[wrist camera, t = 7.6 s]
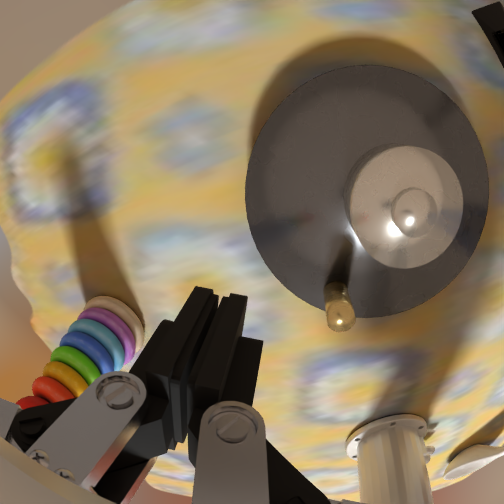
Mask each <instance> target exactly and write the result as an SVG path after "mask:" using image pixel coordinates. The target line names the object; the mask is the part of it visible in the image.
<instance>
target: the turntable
mask: <svg viewBox="0 0 504 504" xmlns="http://www.w3.org/2000/svg"><path fill="white" fill-rule="evenodd" d="M389 143H398V144H405V145H410V146H415V147H420V148H423V149H427V150H430V151H432V152H434V153H436V154H437V155H439V156H440V157H442V158H443V159H444V160H445V161H446V162H447V163H448V164H449V165H450V167H451V168H452V169H453V171H454V172H455V174H456V176H457V178H458V180H459V183H460V186H461V190H462V195H463V213H462V219H461V223H460V226H459V229H458V231H457V233H456V235H455V237H454V239H453V241H452V242H451V243H450V245H449V246H448V247H447V248H446V250H445V251H444V252H443V253H442V254H440V255H439V256H438V257H437V258H435V259H434V260H432V261H430V262H429V263H427V264H424V265H422V266H418V267H414V268H407V269H403V268H394V267H390V266H387V265H384V264H382V263H380V262H379V261H377V260H376V259H374V258H373V257H372V256H371V255H369V254H368V252H367V251H366V250H365V249H364V248H363V246H362V245H361V243H360V241H359V239H358V238H357V236H356V234H355V232H354V230H353V229H352V227H351V225H350V223H349V221H348V219H347V216H346V213H345V209H344V201H343V194H344V187H345V182H346V179H347V176H348V174H349V172H350V170H351V168H352V167H353V165H354V164H355V163H356V161H357V160H358V159H359V158H360V157H361V156H362V155H363V154H365V153H366V152H367V151H369V150H371V149H373V148H375V147H377V146H380V145H383V144H389ZM488 199H489V181H488V172H487V166H486V161H485V157H484V154H483V150H482V147H481V145H480V142H479V140H478V138H477V135H476V133H475V131H474V129H473V128H472V126H471V124H470V123H469V121H468V119H467V118H466V116H465V115H464V114H463V113H462V111H461V110H460V109H459V107H458V106H457V105H456V104H455V103H454V102H453V101H452V100H451V99H450V98H449V97H448V96H447V95H446V94H445V93H443V92H442V91H441V90H439V89H438V88H437V87H435V86H434V85H433V84H431V83H429V82H428V81H426V80H424V79H422V78H420V77H418V76H416V75H414V74H411V73H408V72H406V71H403V70H400V69H395V68H391V67H386V66H375V65H361V66H350V67H345V68H341V69H337V70H333V71H330V72H327V73H325V74H323V75H320V76H318V77H316V78H314V79H312V80H310V81H309V82H307V83H305V84H304V85H302V86H300V87H299V88H298V89H296V90H295V91H294V92H293V93H292V94H290V95H289V96H288V97H287V98H286V99H284V101H283V102H282V103H281V104H280V105H279V106H278V107H277V108H276V110H275V111H274V112H273V113H272V114H271V116H270V117H269V119H268V120H267V122H266V123H265V125H264V126H263V128H262V130H261V132H260V134H259V136H258V138H257V140H256V143H255V145H254V147H253V150H252V154H251V157H250V160H249V164H248V170H247V176H246V184H245V203H246V212H247V219H248V223H249V227H250V231H251V234H252V237H253V239H254V242H255V244H256V247H257V249H258V251H259V253H260V255H261V257H262V258H263V260H264V262H265V264H266V265H267V266H268V268H269V269H270V270H271V272H272V273H273V274H274V276H275V277H276V278H277V279H278V280H279V281H280V282H281V283H282V284H283V285H284V286H285V287H286V288H287V289H288V290H290V291H291V292H292V293H293V294H295V295H296V296H297V297H299V298H300V299H302V300H304V301H305V302H307V303H309V304H310V305H312V306H315V307H317V308H319V309H321V310H324V311H326V316H327V323H328V326H329V328H330V329H332V330H333V331H336V332H344V331H347V330H349V329H350V328H351V327H352V326H353V325H354V323H355V321H356V317H357V318H372V317H383V316H388V315H393V314H397V313H400V312H403V311H406V310H409V309H411V308H413V307H416V306H418V305H420V304H422V303H424V302H425V301H427V300H429V299H430V298H432V297H433V296H435V295H436V294H437V293H439V292H440V291H441V290H443V289H444V288H445V287H446V286H447V285H448V284H449V283H450V282H451V281H452V280H453V279H454V278H455V277H456V276H457V275H458V274H459V272H460V271H461V270H462V269H463V267H464V266H465V265H466V263H467V262H468V260H469V258H470V257H471V255H472V254H473V252H474V250H475V248H476V245H477V243H478V241H479V239H480V236H481V233H482V230H483V227H484V224H485V219H486V215H487V209H488Z"/></svg>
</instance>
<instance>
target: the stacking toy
mask: <svg viewBox="0 0 504 504" xmlns="http://www.w3.org/2000/svg"><path fill="white" fill-rule="evenodd" d="M143 342H144V330H143V327H142V324H141V322H140V320H139V318H138V317H137V315H136V314H135V313H134V312H133V311H132V310H131V309H130V308H129V307H128V306H127V305H126V304H124V303H123V302H121V301H120V300H118V299H115V298H113V297H109V296H97V297H94V298H92V299H91V300H90V301H88V303H87V304H86V305H85V308H84V311H83V312H82V313H81V314H80V315H79V317H78V319H77V321H75V322H74V323H73V324H71V326H70V327H69V329H68V333H67V334H66V335H64V336H63V338H62V339H61V341H60V347H58V348H56V349H55V350H54V351H53V353H52V355H51V362H49V363H47V364H46V366H45V367H44V370H43V377H39V378H37V379H36V380H35V381H34V382H33V385H32V390H33V394H34V396H27V397H25V398H22V399H20V400H19V401H18V402H17V403H16V404H18V405H20V407H21V409H26V408H29V407H34V406H39V405H44V404H49V403H54V402H58V401H63V400H68V399H72V398H76V397H79V396H80V395H81V394H82V393H83V392H84V391H85V390H86V389H87V388H88V387H89V385H90V384H91V383H92V382H93V381H94V380H95V379H97V378H98V377H99V376H101V375H103V374H105V373H108V372H113V371H119V370H120V369H121V368H122V367H123V365H125V364H127V363H128V362H130V361H131V360H132V358H133V357H134V354H135V353H136V352H138V351H139V350H140V348H141V347H142V345H143Z"/></svg>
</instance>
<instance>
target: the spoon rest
mask: <svg viewBox="0 0 504 504" xmlns="http://www.w3.org/2000/svg"><path fill="white" fill-rule="evenodd" d="M503 455H504V446H503V447H494V446H488V445H481V444H476V445H473V446H471V447H469V448H467V449H465V450H463V451H462V452H460V453H459V454H458V455H457V456H456V457H455V458H454V459H453V460H452V461H451V462H450V464H449V465H448V467H447V468H446V470H445V473H444V476H443V478H444V479H445V480H451V479H456V478H459V477H462V476H465V475H468V474H470V473H472V472H474V471H476V470H478V469H480V468H482V467H483V466H485V465H487V464H488V463H490V462H491V461H493V460H495V459H496V458H498V457H500V456H503Z"/></svg>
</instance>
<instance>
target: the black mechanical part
mask: <svg viewBox="0 0 504 504" xmlns="http://www.w3.org/2000/svg"><path fill="white" fill-rule="evenodd" d="M472 14H473V16H474V17H475V19H476V20H477V22H478V23H479V25H480V26H481V28H482V30H483V31H484V33H485V35H486V36H487V38H488V40H489V41H490V43H491V45H492V47H493V49H494V50H495V52H496V54H497V56H498V58H499V60H500V62H501V64H502V66H503V68H504V7H503V6H502V4H501V3H500V2H496V3H493V4H490V5H487V6H485V7H482V8H479V9H476V10H474V11H472Z"/></svg>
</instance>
